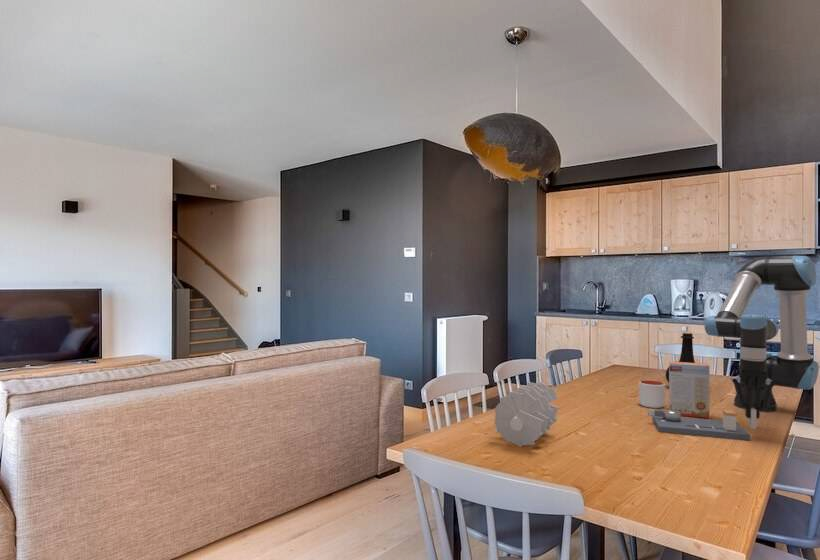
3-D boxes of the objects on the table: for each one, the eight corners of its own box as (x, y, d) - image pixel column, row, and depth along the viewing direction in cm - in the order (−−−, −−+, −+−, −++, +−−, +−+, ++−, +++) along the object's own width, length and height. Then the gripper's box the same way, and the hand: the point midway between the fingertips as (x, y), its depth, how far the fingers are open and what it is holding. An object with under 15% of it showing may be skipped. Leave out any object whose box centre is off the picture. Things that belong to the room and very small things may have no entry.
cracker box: (707, 415, 200) (708, 363, 200) (709, 419, 195) (710, 365, 195) (668, 411, 206) (669, 360, 206) (669, 414, 201) (669, 362, 201)
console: (735, 427, 184) (735, 421, 184) (750, 440, 169) (750, 434, 169) (652, 420, 193) (652, 414, 193) (658, 431, 178) (658, 426, 178)
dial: (679, 417, 188) (679, 409, 188) (682, 422, 183) (682, 414, 183) (647, 415, 192) (647, 407, 192) (649, 419, 186) (649, 411, 186)
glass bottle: (660, 384, 258) (660, 330, 258) (697, 386, 256) (697, 331, 256) (673, 392, 240) (674, 334, 240) (713, 394, 238) (714, 335, 238)
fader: (732, 427, 176) (732, 410, 176) (736, 431, 172) (736, 413, 172) (722, 426, 177) (722, 409, 177) (725, 430, 173) (725, 412, 173)
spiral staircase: (503, 458, 162) (525, 434, 183) (552, 443, 153) (570, 420, 175) (479, 405, 165) (504, 387, 186) (527, 388, 156) (547, 371, 178)
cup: (662, 410, 208) (662, 386, 208) (636, 406, 214) (636, 383, 214) (666, 405, 216) (667, 382, 216) (641, 401, 222) (642, 379, 222)
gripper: (771, 358, 174) (770, 426, 174) (728, 356, 178) (727, 422, 178) (779, 362, 167) (778, 432, 167) (734, 359, 171) (733, 428, 171)
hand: (752, 427), depth 173 cm, fingers closed
